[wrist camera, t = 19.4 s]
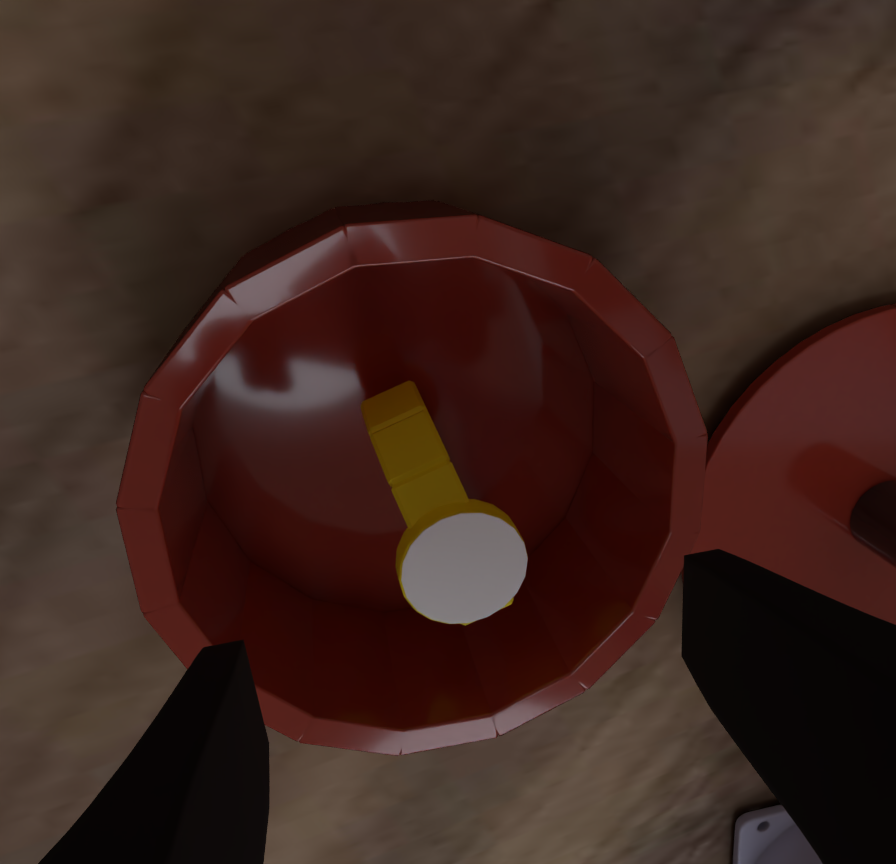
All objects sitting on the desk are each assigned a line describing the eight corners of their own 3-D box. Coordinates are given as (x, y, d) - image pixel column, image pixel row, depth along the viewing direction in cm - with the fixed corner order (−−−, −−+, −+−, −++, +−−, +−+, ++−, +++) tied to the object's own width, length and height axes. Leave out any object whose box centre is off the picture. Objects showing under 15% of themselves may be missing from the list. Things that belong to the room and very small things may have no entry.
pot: (511, 112, 18) (589, 95, 13) (666, 502, 23) (767, 598, 18) (67, 344, 18) (-24, 416, 13) (316, 685, 23) (319, 832, 18)
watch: (328, 385, 19) (337, 474, 14) (423, 341, 20) (469, 414, 14) (417, 559, 22) (455, 695, 16) (502, 520, 22) (567, 642, 16)
